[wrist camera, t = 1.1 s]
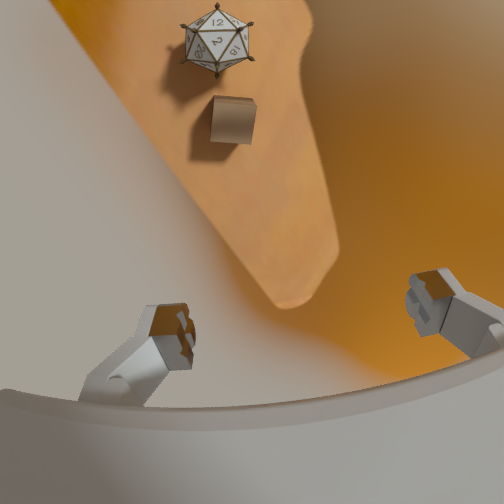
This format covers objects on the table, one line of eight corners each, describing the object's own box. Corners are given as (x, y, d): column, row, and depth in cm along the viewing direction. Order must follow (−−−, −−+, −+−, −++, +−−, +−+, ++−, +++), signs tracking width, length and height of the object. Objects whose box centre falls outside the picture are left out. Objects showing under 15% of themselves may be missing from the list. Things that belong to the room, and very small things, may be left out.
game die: (222, 52, 36) (224, 104, 34) (168, 29, 30) (160, 79, 28) (267, 13, 29) (277, 61, 27) (210, -19, 24) (208, 23, 22)
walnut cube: (214, 95, 37) (214, 102, 33) (252, 98, 38) (256, 106, 34) (210, 129, 40) (210, 141, 36) (247, 132, 41) (251, 144, 37)
